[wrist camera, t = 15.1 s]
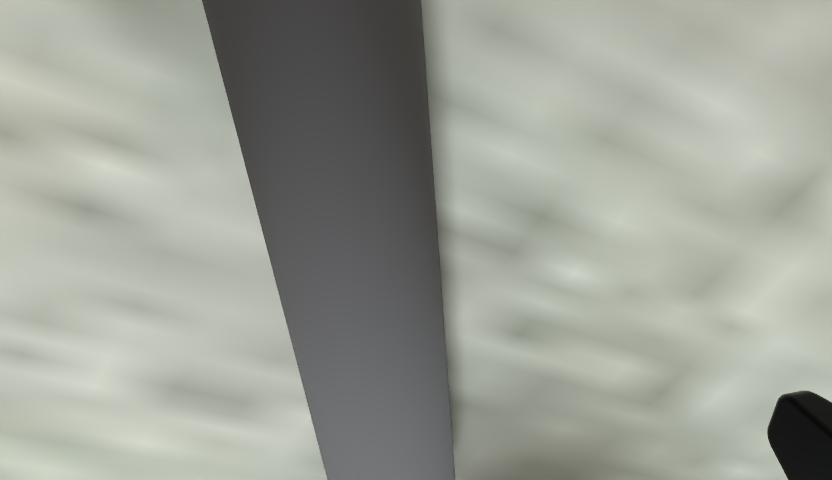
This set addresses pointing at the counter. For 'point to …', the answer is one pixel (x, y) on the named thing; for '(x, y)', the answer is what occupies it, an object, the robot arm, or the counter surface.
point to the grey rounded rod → (347, 218)
